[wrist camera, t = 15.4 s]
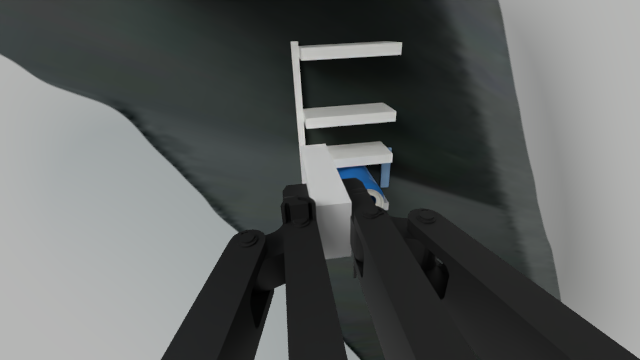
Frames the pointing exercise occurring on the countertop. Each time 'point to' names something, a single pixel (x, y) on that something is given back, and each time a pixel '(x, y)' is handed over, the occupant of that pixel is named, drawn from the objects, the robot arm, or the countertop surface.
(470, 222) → the countertop surface
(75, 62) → the countertop surface
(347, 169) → the beverage can
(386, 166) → the blue bezel
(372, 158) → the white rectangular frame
